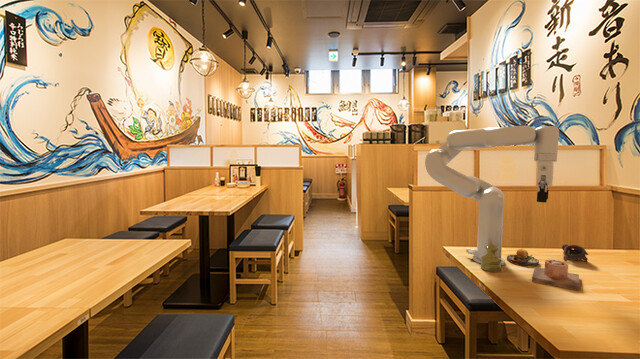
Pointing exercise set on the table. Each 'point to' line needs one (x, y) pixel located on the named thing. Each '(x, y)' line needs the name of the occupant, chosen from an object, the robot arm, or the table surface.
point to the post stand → (569, 283)
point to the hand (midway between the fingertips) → (542, 200)
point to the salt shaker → (491, 259)
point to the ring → (556, 269)
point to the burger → (522, 258)
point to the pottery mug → (574, 253)
